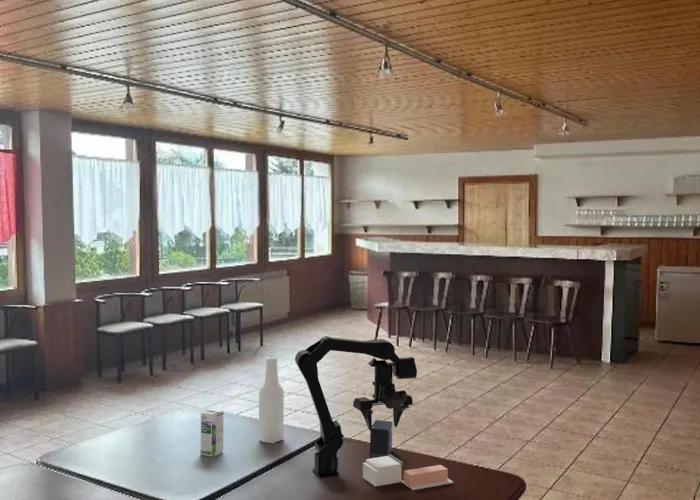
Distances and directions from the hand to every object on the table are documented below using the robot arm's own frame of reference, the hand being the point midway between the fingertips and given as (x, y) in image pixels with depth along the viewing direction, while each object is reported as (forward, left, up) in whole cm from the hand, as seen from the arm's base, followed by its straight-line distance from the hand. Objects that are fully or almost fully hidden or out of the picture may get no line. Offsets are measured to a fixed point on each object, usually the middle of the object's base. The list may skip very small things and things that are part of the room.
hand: (382, 428), depth 210 cm
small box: (+6, +12, -13) cm, 19 cm away
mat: (+7, -15, -13) cm, 21 cm away
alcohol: (-23, +42, -13) cm, 50 cm away
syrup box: (-46, +36, -13) cm, 60 cm away
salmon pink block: (+6, -15, -13) cm, 21 cm away
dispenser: (-4, -8, -13) cm, 16 cm away
